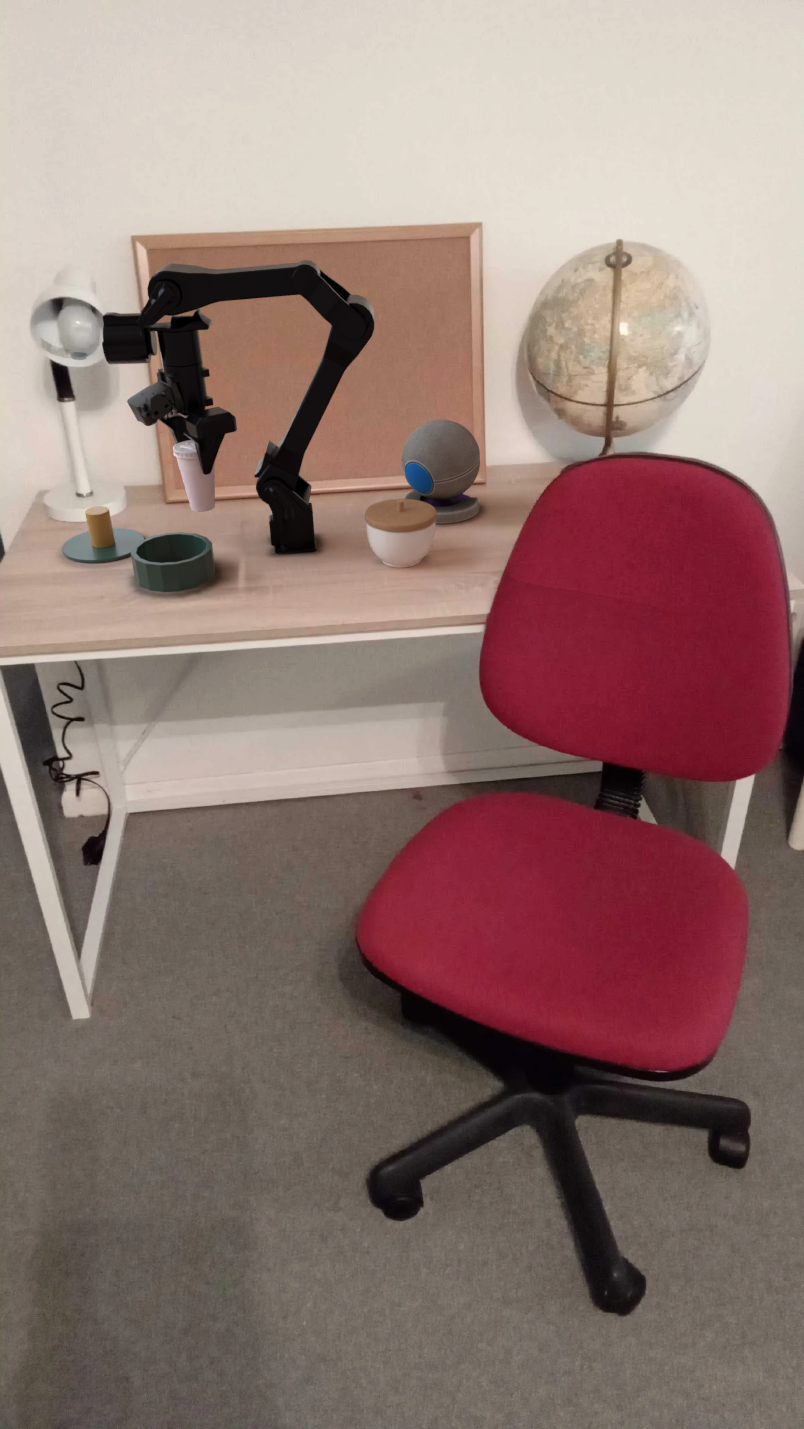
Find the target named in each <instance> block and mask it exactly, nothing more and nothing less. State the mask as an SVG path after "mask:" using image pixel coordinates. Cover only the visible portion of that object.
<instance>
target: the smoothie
mask: <svg viewBox="0 0 804 1429" xmlns="http://www.w3.org/2000/svg"><path fill="white" fill-rule="evenodd" d="M172 452H173V453H172V454H173V456H174V457H175V458H176V461H177V465H178V468H179V472H180V476H181V478H182V481H183V486H184V489H185V492H186V496H187V499H188V504H189V506H190V510H191V511H193V512H198V513H203V512H209V511H212V510H214V509H215V508H216V482H215V481H216V480H215V479H216V477H215V476H216V473H215V471H216V470H215V463H216V461H215V462H214V465H213V468H212V471H211V473H210V474H207V475H204V474H203V472H202V469H201V466H200V462H199V458H198V455H197V451H196V447H195V443H194V442H193V441H192V440H188V441H183V442H180V443H178V444H176V443H175V444H174V445H173V446H172Z"/></svg>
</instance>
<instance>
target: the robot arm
mask: <svg viewBox="0 0 804 1429" xmlns="http://www.w3.org/2000/svg"><path fill="white" fill-rule="evenodd" d="M146 290H147V297H148V300H147V302H146V304H145V305H144V306H143V307H142V308H141V309H140V312H131V313H129V312H127V313H119V312H116V311H115V312H114V311H112V312H111V311H110V312H108V311H107V312H105V313H104V314H103V315H102V322H103V326H102V342H101V346H102V352H103V355H104V358H105V360H106V363H107V364H108V365H135V364H136V365H137V364H138V365H140V364H150V363H151V362H152V356H153V357H155V356H157V355H158V346H159V353H160V359H161V365H162V368H158V369H157V372H156V379H157V381H156V382H155V383H153V384H150V385H148V386H146V387H145V388H143V389H141V390H140V391H138V392H137V393H135V394H133V395H132V396H130V397H128V399H127V400H126V403H127V404H128V406H129V408H130V410H131V411H132V414H133V415H134V417H135V419H136V421H137V422H138V423H139V422H140V423H142V424H143V425H144V426H146V427H151V426H153V425H155V424H156V423H158V421H159V422H160V423H162V424H163V425H164V426H166V427H167V428H168V430H169V432H170V433H171V436H172V438H173V440H174V442H175V445H176V444H178V443H180V442H183V441H188V440H192V441H193V442H194V443H195V447H196V451H197V455H198V458H199V462H200V466H201V469H202V472H203V474H204V475H207V474H210V473H211V471H212V468H213V465H215V463H216V459H217V457H218V453H219V452H220V451H219V450H220V448H221V445H222V443H223V440H224V438H225V436H226V434H231V433H235V432H237V430H238V427H237V426H238V425H237V417H236V416H235V415H234V414H232V413H231V412H230V411H228V410H226V409H224V408H222V407H221V406H214V399H213V397H211V396H209V395H208V392H207V383H206V378H208V377H210V376H211V375H210V369H209V368H207V367H205V366H204V361H203V353H202V346H201V338H200V331H208V330H209V328H210V327H211V326H212V324H213V321H212V319H211V318H209V317H208V316H207V315H205V314H204V313H203V312H202V310H201V309H202V308H204V307H207V306H210V305H213V304H216V303H221V302H232V301H241V300H252V299H253V300H254V299H265V298H277V297H278V298H279V297H288V296H301V297H302V298H304V300H306V301H307V302H308V303H309V304H310V305H311V306H312V308H313V309H314V310H315V311H316V312H317V313H318V315H320V316H321V317H322V318H323V319H324V320H325V321H326V322H327V323H329V324H330V327H329V331H328V335H327V339H326V342H325V346H324V349H323V354H322V356H321V358H320V360H319V362H318V364H317V366H316V368H315V370H314V373H313V375H312V377H311V379H310V381H309V383H308V385H307V387H306V390H305V391H304V393H303V395H302V398H301V400H300V401H299V404H298V405H297V408H296V410H295V413H294V415H293V417H292V419H291V421H290V424H289V426H288V427H287V429H286V432H285V434H284V436H282V438H281V439H280V440H279V442H278V443H276V444H275V443H274V442H272V441H271V440H268V441H267V444H266V448H265V452H264V455H263V456H262V458H261V459H259V460H258V462H257V465H256V469H255V473H254V475H253V477H254V478H256V479H257V480H256V484H255V491H256V493H257V495H258V497H259V498H260V500H261V501H262V502H263V503H265V504H267V505H268V507H269V509H270V511H271V514H269V516H268V527H269V536H270V545H271V546H272V547H274V548H273V549H274V553H275V554H290V553H307V552H316V551H317V541H316V533H315V524H314V510H313V503H312V502H310V497H311V492H312V484H310V482H308V481H307V480H306V479H305V478H304V477H303V476H301V475H300V472H301V468H302V464H303V460H304V457H305V453H306V452H307V449H308V447H309V445H310V444H311V441H312V439H313V437H314V435H315V433H316V431H317V429H318V427H319V424H320V422H321V420H322V419H323V416H324V414H325V412H326V410H327V408H328V406H329V405H330V402H331V400H332V398H333V397H334V394H335V391H336V390H337V388H338V386H339V384H340V382H341V380H342V377H343V375H344V374H345V371H346V370H347V369H348V367H350V365H351V364H352V363H353V362H354V361H355V360H356V358H357V357H358V356H359V355H360V353H361V352H362V350H364V348H365V347H366V345H367V344H368V342H369V341H370V340H371V339H372V337H373V334H374V331H375V318H376V317H375V310H374V306H373V305H372V304H371V302H370V301H369V299H367V298H366V297H365V296H363V295H359V294H352V293H351V292H349V290H347V289H346V287H344V286H343V285H341V283H338V281H337V280H335V279H333V278H332V277H330V275H328V274H327V273H325V272H324V271H323V270H322V269H321V268H320V267H319V265H317V263H315V262H314V261H312V260H308V259H303V260H300V261H297V262H289V263H288V262H287V263H277V264H266V265H254V266H241V267H232V268H220V269H219V268H218V269H217V268H208V267H204V266H199V265H195V264H194V265H193V264H183V263H168V264H165V265H163V266H161V267H160V268H159V269H158V270H157V272H155V273H154V274H153V275H152V276H151V278H150V279H149V281H148V284H147V289H146ZM193 311H194V312H193ZM189 312H193V314H191V315H190V314H189V315H182V314H186V313H189ZM165 316H168V317H170V321H166V322H159V321H160V320H161V319H162V318H164V317H165ZM156 333H157V334H156ZM213 406H214V407H213ZM208 407H210V408H208ZM214 462H215V463H214Z"/></svg>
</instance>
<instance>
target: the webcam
mask: <svg viewBox="0 0 804 1429" xmlns="http://www.w3.org/2000/svg"><path fill="white" fill-rule="evenodd" d="M480 452H481V451H480V447H479V444H478V442H477V440H476V438H475V436H474V435H473V434H472V432H470V430H469V429H467V427H465V426H464V425H462V424H461V423H458V422H456V421H453V420H451V419H450V420H449V419H440V418H439V419H432V420H429V421H427V422H425V423H422V424H421V425H419V426H418V427H417V428H415V429H414V430H413V431H412V432H411V433H410V435H409V436H408V438H407V440H406V441H405V444H404V447H403V449H402V454H401V469H402V472H403V476H404V478H405V480H406V482H407V483H408V485H409V487H410V488H412V489H413V490H412V491H410V492H408V493H407V494H406V495H405V496H404V498H403V499H413V500H419V501H423V502H426V503H428V504H430V505H432V506H433V507H434V508H435V509H436V524H452V523H453V524H454V523H459V522H462V521H466V520H468V519H469V520H470V519H472V518H473V517H474V516H476V515H477V514H478V513H479V511H480V500H479V498H478V497H475V496H474V497H473V496H472V497H471V496H469V495H467V494H465V492H466V491H468V490H469V489H470V488H471V486H472V485H473V484H474V483H475V481H476V479H477V477H478V475H479V471H480V468H481V453H480Z"/></svg>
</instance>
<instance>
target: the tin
mask: <svg viewBox="0 0 804 1429" xmlns="http://www.w3.org/2000/svg"><path fill="white" fill-rule="evenodd" d="M130 558H131V563H132V569H133V575H134V578H135V579H134V580H135V582H136V583H137V585H138V586H139V587H140V588H143V589H146V590H148V591H151V592H159V593H173V592H175V593H176V592H183V591H188V590H192V589H196V588H198V587H200V586H203V585H205V584H207V583H209V582H210V580H212V579H213V577H214V576H216V563H215V556H214V547H213V542H212V541H211V540H210V539H209V537H207V536H204V535H201V534H198V533H194V532H185V531H180V532H179V531H178V532H165V533H161V534H156V535H152V536H149V537H147V538H144V540H142V541H140V542H138V543H137V544H136V545H135V546H134V547H132V551H131V556H130Z"/></svg>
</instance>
